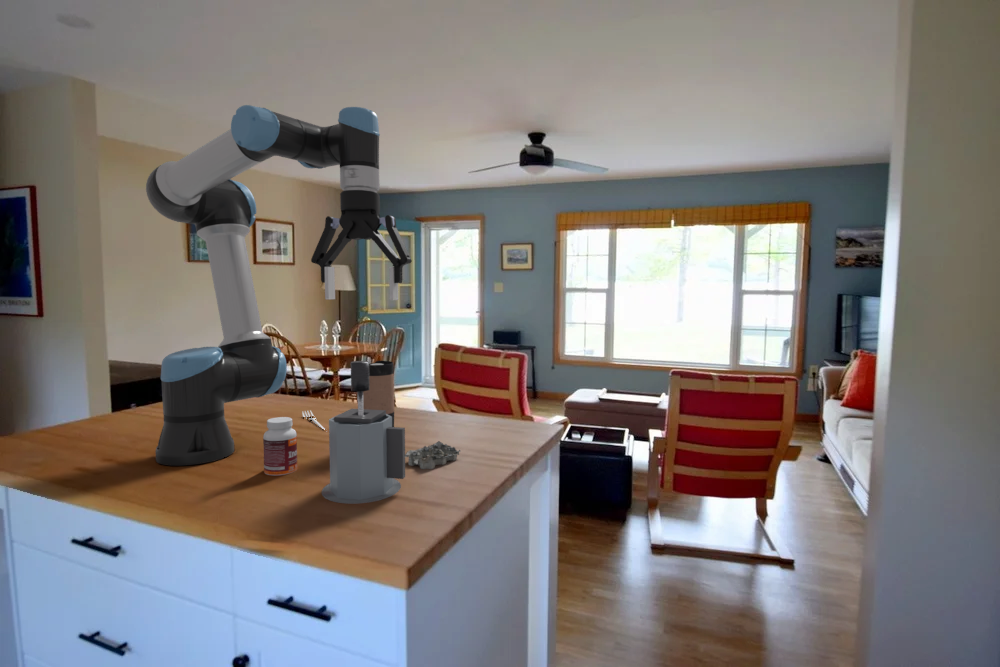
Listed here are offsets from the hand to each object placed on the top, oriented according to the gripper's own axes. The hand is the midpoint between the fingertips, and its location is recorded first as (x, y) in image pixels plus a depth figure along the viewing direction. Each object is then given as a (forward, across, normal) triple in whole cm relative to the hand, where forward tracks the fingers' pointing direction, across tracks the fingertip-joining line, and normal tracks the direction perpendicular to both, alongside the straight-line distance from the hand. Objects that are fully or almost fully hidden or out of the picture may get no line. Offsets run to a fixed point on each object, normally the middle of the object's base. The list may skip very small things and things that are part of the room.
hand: (361, 299), depth 109 cm
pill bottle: (+35, -15, -6) cm, 38 cm away
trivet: (+35, +5, -12) cm, 37 cm away
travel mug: (+35, -3, +14) cm, 38 cm away
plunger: (+31, +5, -12) cm, 34 cm away
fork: (+35, -29, +32) cm, 56 cm away
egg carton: (+35, +13, +6) cm, 38 cm away
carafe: (+34, +6, -12) cm, 37 cm away
